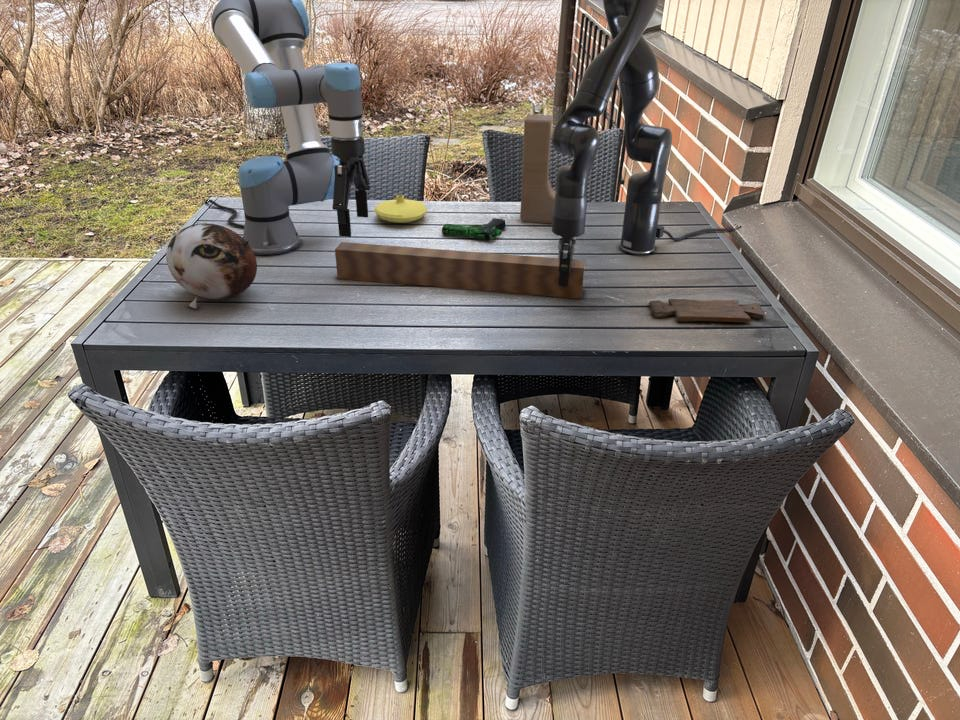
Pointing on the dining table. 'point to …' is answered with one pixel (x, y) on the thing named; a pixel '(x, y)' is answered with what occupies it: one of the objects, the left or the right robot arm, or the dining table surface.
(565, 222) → the right robot arm
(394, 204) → the yellow round flat dome
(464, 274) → the beam
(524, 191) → the decorative block
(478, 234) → the handgun
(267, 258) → the dining table surface
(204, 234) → the cat face balloon
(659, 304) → the dark wooden board
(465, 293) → the dining table surface
